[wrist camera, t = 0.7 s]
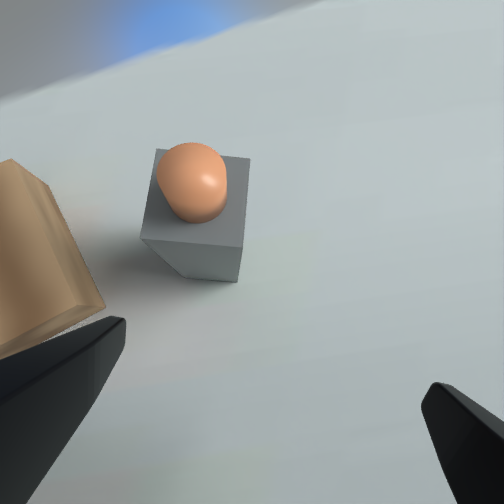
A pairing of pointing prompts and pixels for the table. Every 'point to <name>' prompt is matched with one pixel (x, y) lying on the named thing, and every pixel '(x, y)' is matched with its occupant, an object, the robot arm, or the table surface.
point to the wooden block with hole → (38, 265)
